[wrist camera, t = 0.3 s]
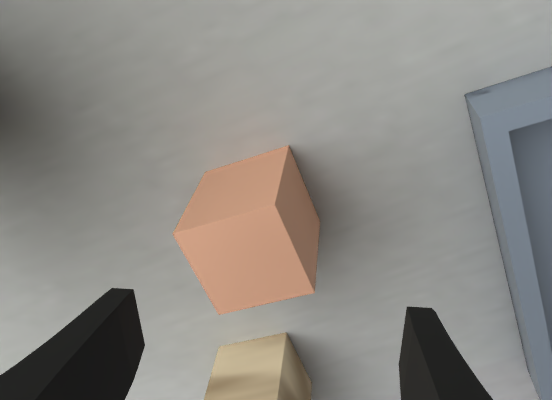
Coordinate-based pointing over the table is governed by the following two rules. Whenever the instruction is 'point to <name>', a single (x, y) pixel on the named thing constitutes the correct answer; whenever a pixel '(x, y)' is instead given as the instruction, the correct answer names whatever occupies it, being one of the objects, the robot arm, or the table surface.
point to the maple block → (259, 371)
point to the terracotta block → (252, 232)
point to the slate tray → (521, 203)
